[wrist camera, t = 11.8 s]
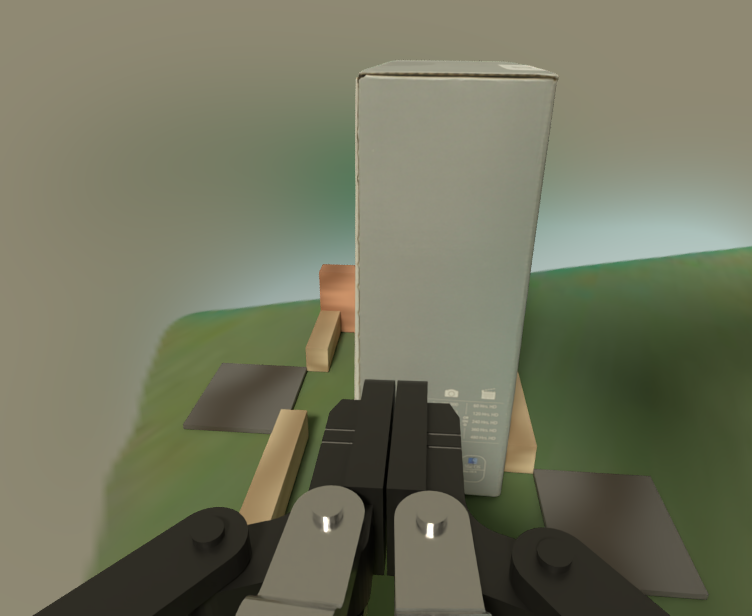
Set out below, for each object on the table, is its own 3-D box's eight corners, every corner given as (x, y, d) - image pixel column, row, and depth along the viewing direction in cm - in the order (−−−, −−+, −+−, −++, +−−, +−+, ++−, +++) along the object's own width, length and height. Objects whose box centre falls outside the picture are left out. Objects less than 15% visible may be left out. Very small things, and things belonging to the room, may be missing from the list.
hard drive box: (504, 503, 28) (562, 72, 20) (353, 490, 29) (344, 71, 21) (486, 349, 42) (515, 56, 34) (384, 343, 43) (386, 55, 34)
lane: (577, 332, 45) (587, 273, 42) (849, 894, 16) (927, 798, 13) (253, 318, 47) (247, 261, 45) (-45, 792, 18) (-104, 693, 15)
